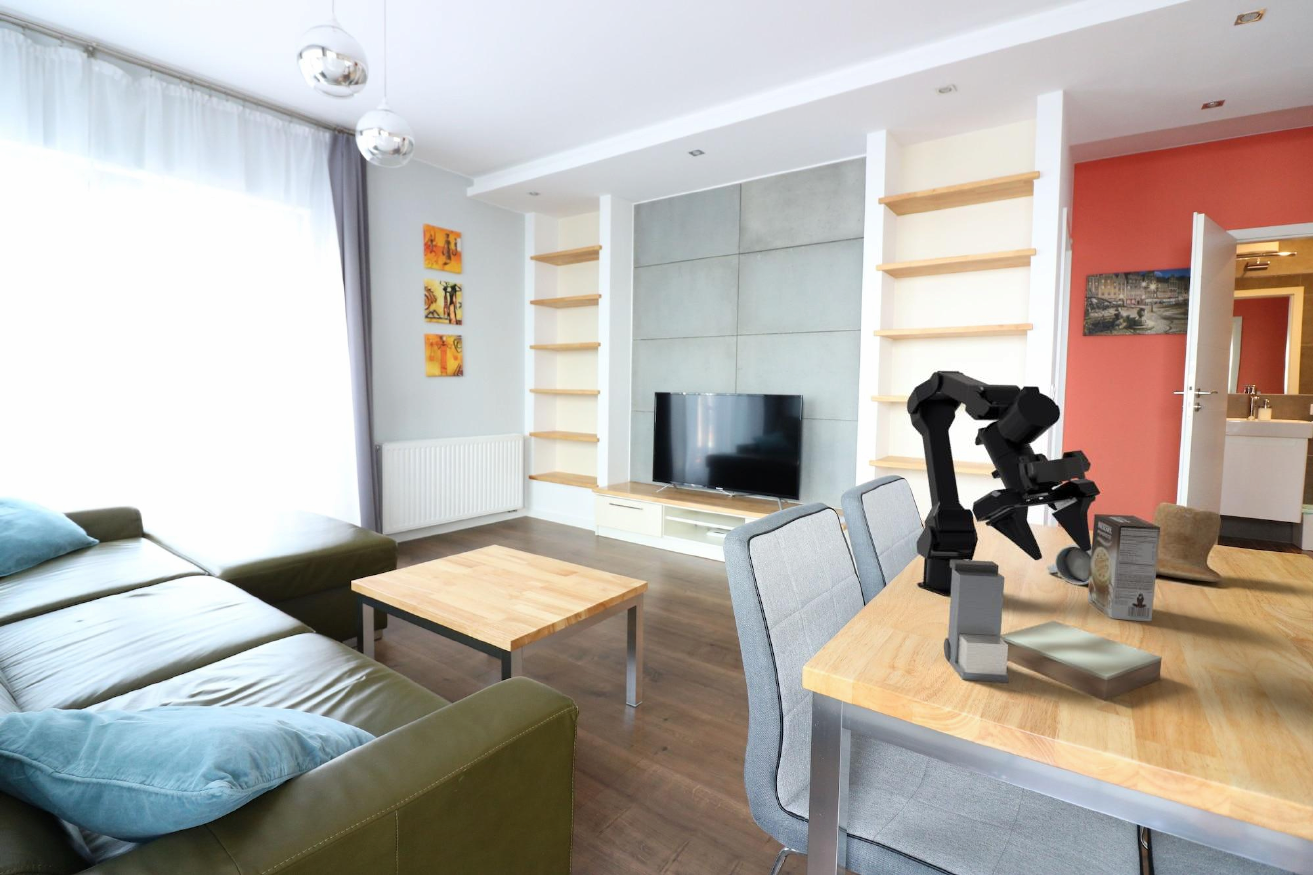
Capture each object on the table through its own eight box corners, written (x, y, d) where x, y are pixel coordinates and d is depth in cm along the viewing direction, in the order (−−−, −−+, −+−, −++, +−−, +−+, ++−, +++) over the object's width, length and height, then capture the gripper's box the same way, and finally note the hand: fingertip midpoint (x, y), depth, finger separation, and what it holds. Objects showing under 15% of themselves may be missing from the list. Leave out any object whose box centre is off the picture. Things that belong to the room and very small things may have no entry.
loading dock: (997, 655, 90) (998, 635, 90) (1052, 639, 96) (1053, 620, 96) (1104, 700, 77) (1106, 676, 77) (1159, 678, 83) (1161, 657, 83)
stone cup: (1219, 576, 130) (1226, 504, 129) (1221, 590, 121) (1228, 513, 120) (1128, 562, 140) (1133, 495, 139) (1123, 573, 131) (1129, 502, 130)
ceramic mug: (1116, 583, 124) (1118, 545, 123) (1094, 590, 120) (1097, 550, 119) (1059, 570, 133) (1061, 534, 133) (1037, 575, 129) (1039, 538, 129)
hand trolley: (943, 654, 90) (948, 558, 89) (984, 657, 89) (990, 560, 88) (962, 679, 82) (969, 574, 81) (1007, 682, 82) (1015, 576, 80)
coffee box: (1085, 600, 114) (1092, 512, 112) (1125, 603, 113) (1132, 514, 111) (1110, 619, 105) (1118, 524, 103) (1154, 622, 104) (1163, 526, 102)
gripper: (1002, 436, 87) (1058, 543, 80) (1101, 426, 92) (1162, 526, 85) (951, 471, 96) (997, 570, 89) (1044, 461, 102) (1094, 553, 95)
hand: (1063, 555), depth 89 cm, fingers open, 9 cm apart
